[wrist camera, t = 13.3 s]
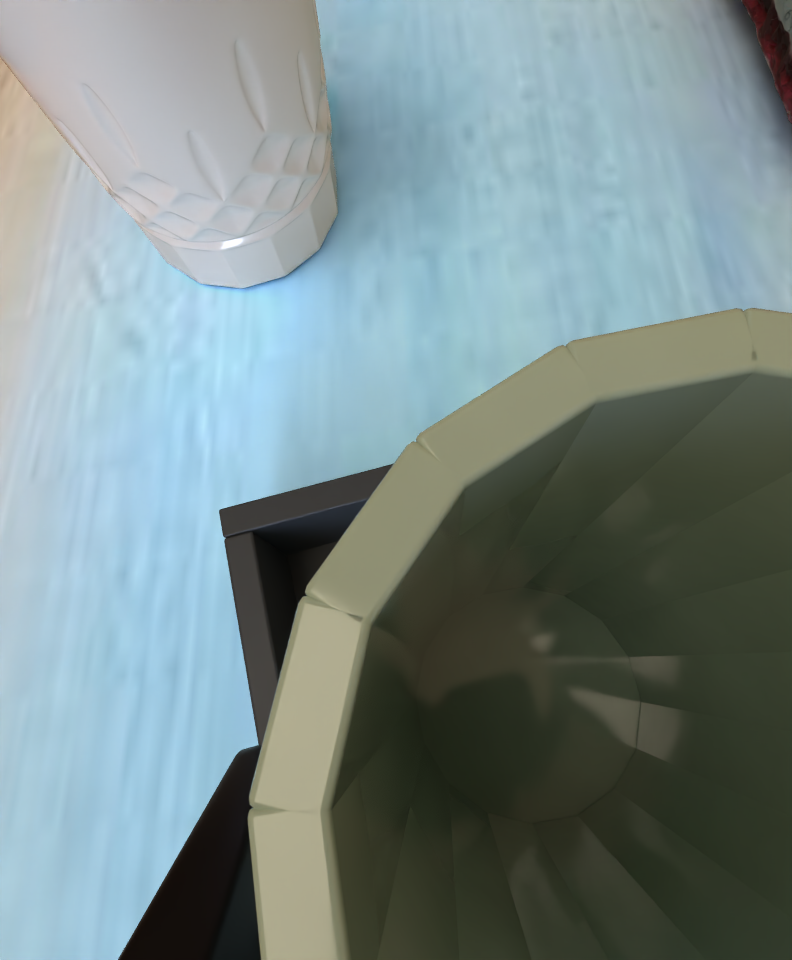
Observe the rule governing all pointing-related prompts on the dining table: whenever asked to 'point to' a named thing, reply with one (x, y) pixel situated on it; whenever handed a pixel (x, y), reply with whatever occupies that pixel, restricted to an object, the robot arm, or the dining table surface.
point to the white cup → (191, 121)
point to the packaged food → (775, 42)
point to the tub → (283, 567)
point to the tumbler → (552, 674)
